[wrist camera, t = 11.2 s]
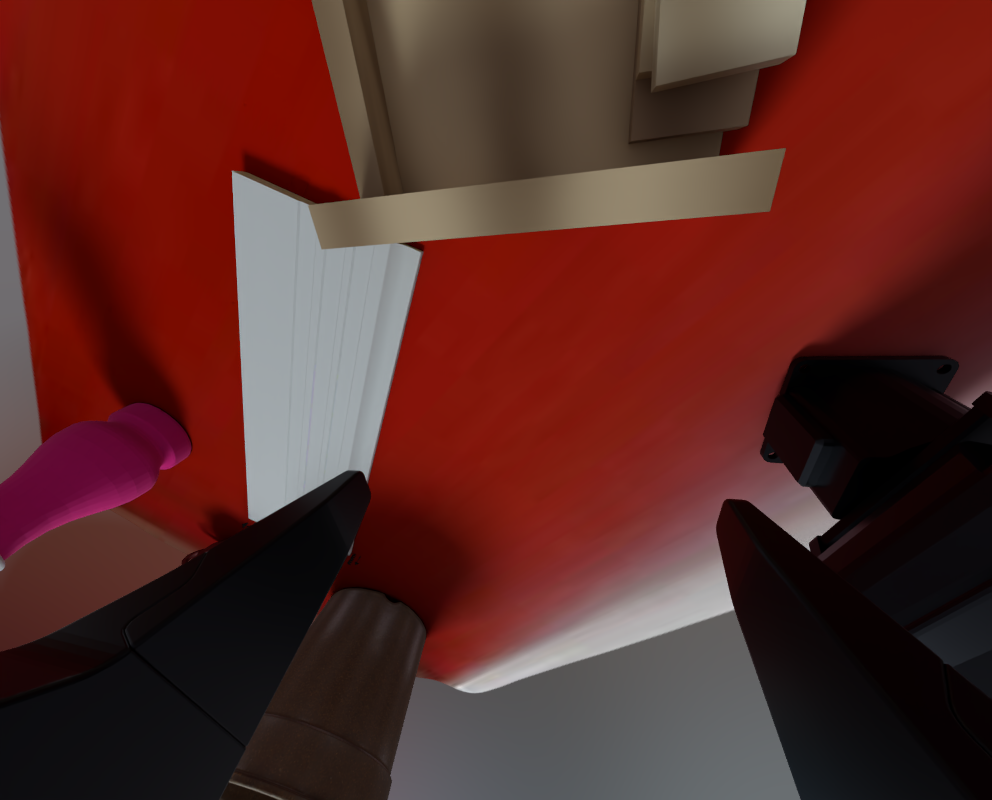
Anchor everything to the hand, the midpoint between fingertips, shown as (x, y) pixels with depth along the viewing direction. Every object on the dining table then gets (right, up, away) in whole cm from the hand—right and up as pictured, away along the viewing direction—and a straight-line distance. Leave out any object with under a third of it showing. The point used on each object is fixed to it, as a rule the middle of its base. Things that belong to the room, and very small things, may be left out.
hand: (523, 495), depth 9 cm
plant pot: (-14, -23, +33) cm, 43 cm away
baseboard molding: (-14, +1, +19) cm, 24 cm away
